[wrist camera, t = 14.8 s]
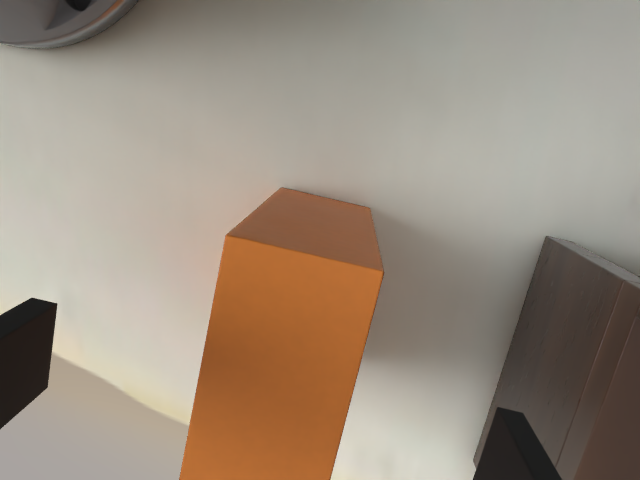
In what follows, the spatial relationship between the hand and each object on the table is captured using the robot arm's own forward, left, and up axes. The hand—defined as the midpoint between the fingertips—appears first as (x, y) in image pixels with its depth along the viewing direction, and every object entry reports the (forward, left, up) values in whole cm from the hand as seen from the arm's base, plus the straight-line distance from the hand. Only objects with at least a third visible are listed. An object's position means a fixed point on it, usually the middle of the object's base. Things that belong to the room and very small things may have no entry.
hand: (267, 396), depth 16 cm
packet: (0, 0, -15) cm, 15 cm away
